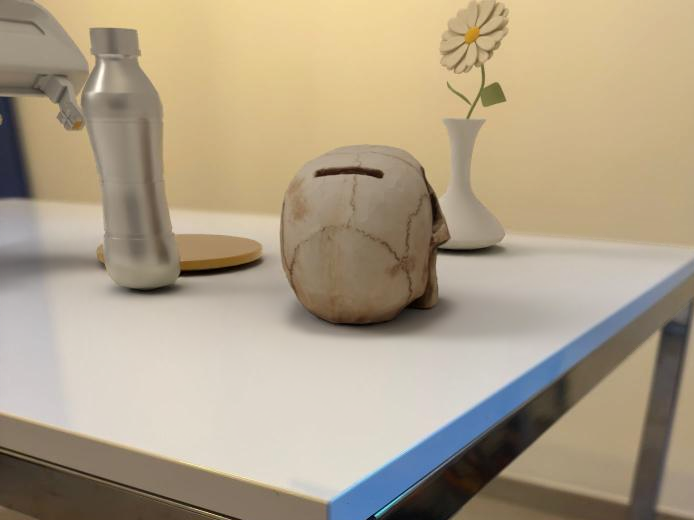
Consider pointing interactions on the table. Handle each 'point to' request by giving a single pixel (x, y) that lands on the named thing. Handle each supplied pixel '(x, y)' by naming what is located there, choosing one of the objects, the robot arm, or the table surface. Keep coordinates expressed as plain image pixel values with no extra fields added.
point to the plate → (211, 251)
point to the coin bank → (362, 234)
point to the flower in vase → (470, 121)
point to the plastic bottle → (129, 163)
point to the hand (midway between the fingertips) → (38, 126)
